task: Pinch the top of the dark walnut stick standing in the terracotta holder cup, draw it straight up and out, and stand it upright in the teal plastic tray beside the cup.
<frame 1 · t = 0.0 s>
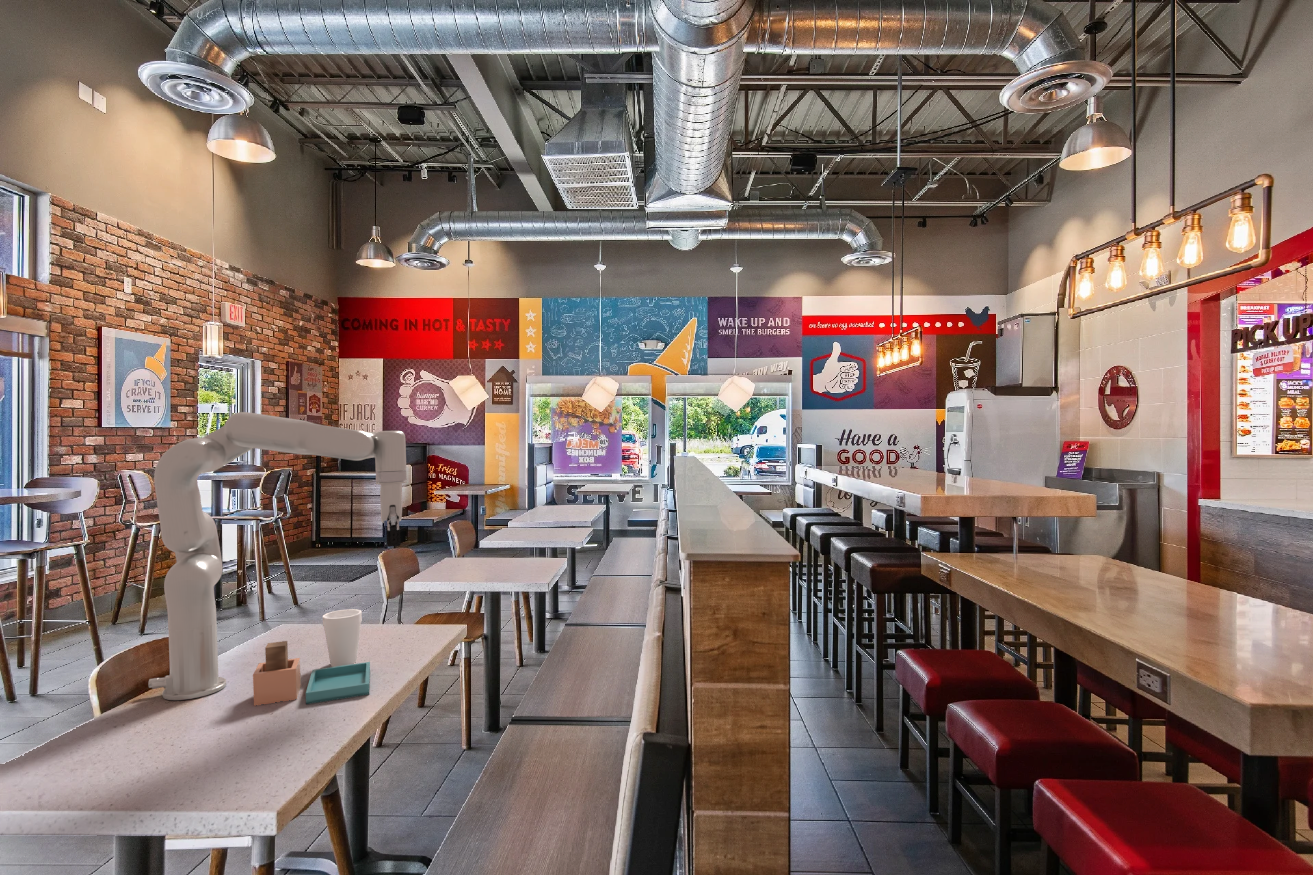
hand: (393, 543, 181), 31 cm above the table, tool pointing down, fingers open, 9 cm apart
walnut stick: (277, 670, 159), in the holder cup
foam cup: (343, 663, 182), on the table
tray: (340, 686, 164), on the table
holder cup: (278, 696, 159), on the table
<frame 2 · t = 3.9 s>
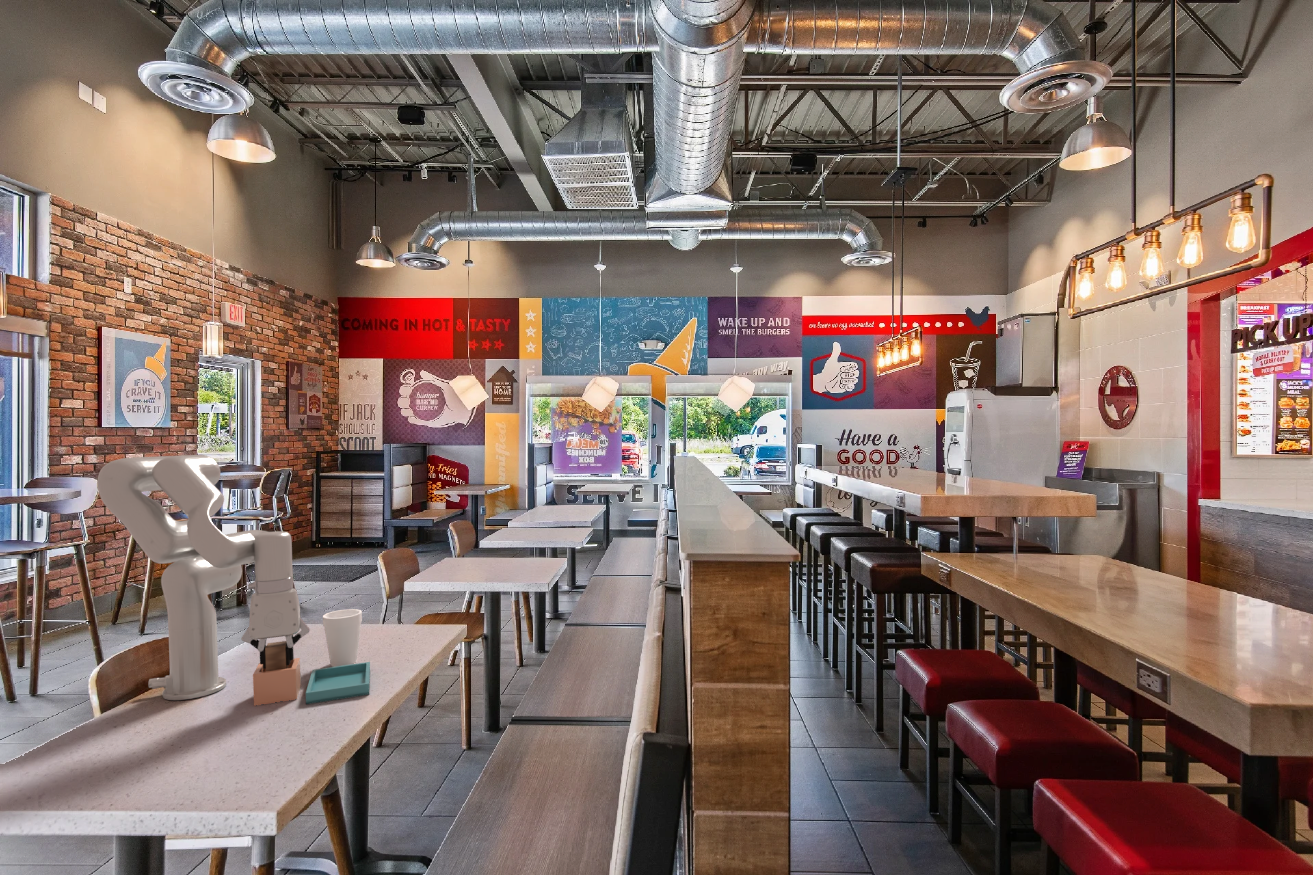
hand: (277, 664, 159), 7 cm above the table, tool pointing down, fingers closed on walnut stick, 4 cm apart
walnut stick: (277, 670, 159), in the holder cup, touching gripper
everything else where it was.
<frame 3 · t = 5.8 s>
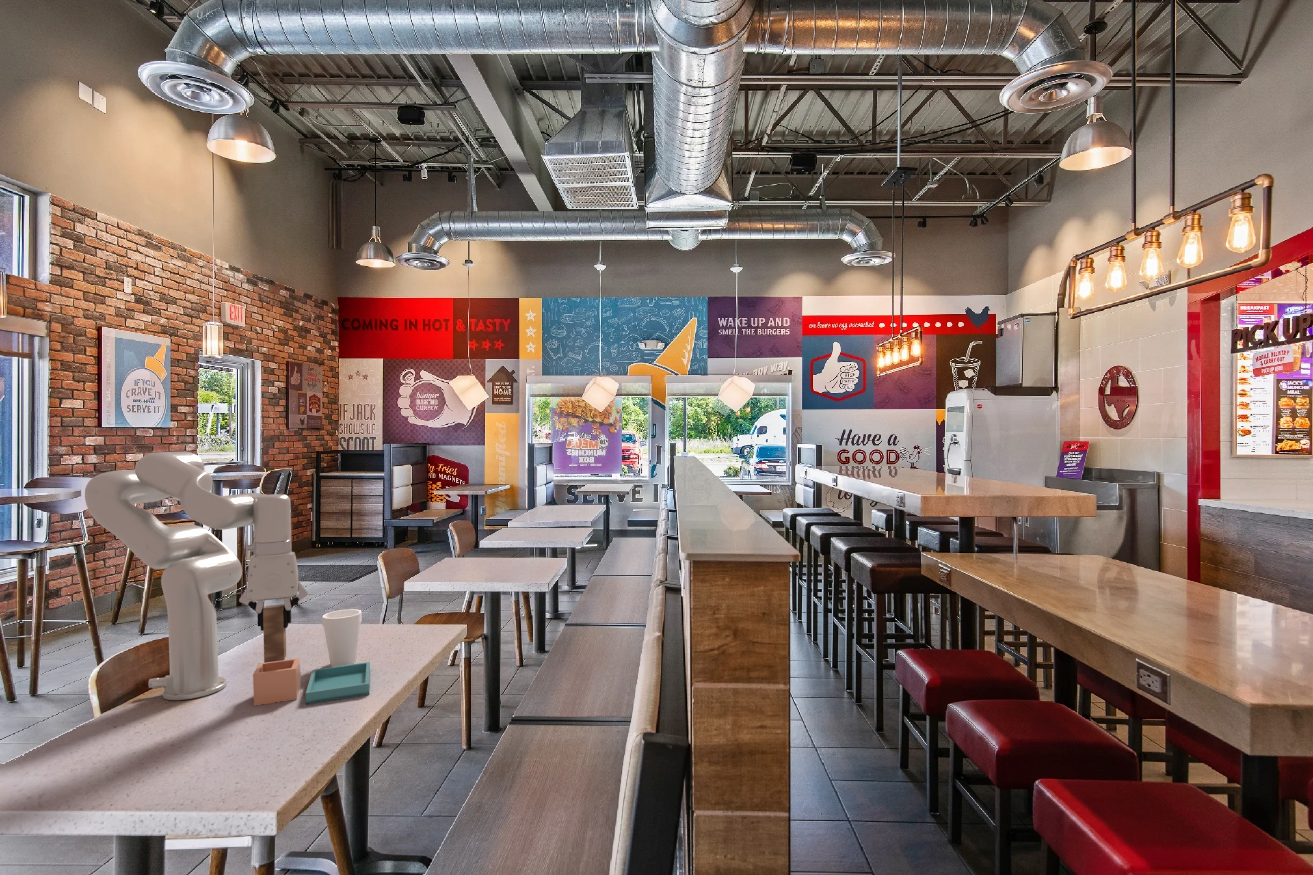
hand: (274, 626, 159), 16 cm above the table, tool pointing down, fingers closed on walnut stick, 4 cm apart
walnut stick: (274, 632, 159), point 15 cm above the table, touching gripper
everything else where it was.
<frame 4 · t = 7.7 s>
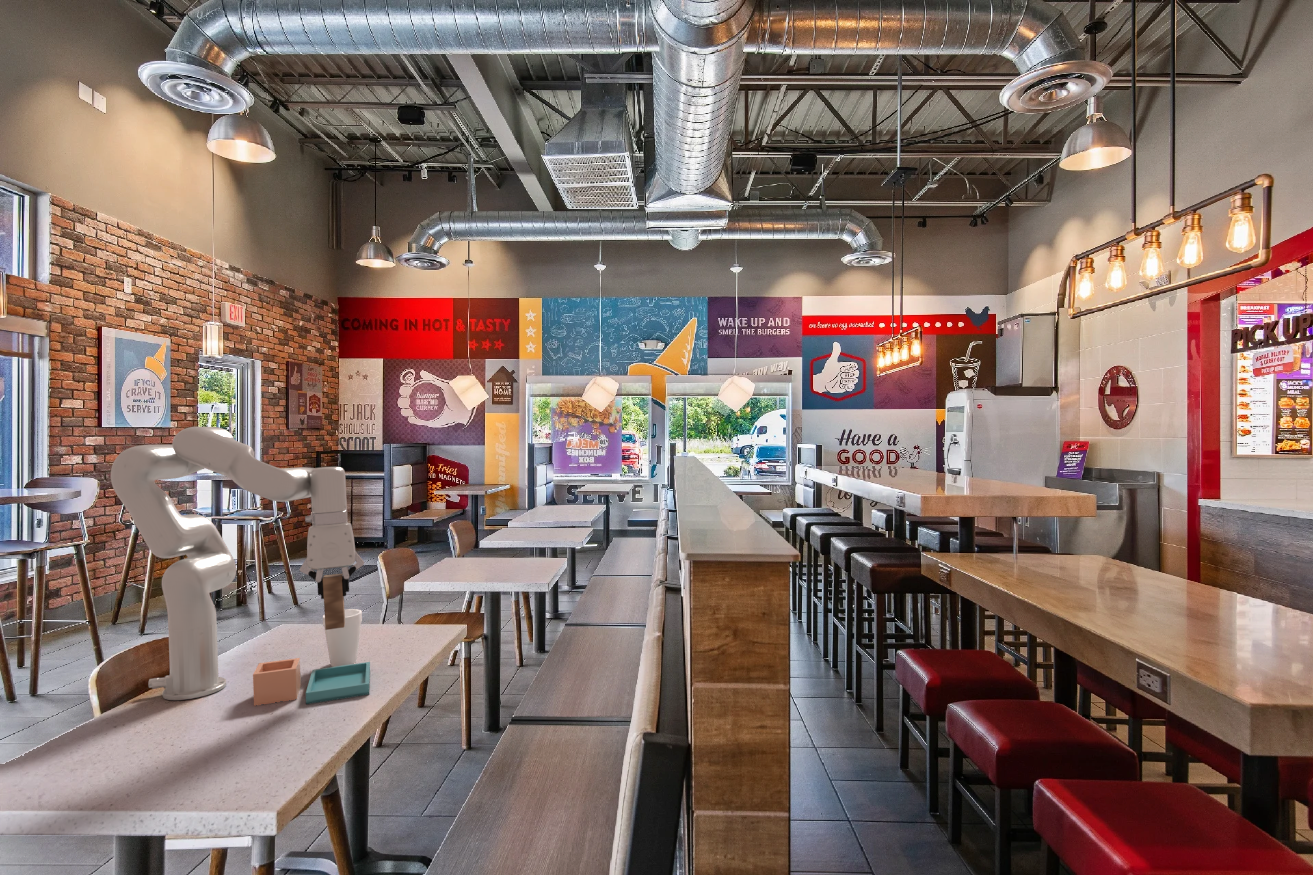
hand: (333, 595, 164), 22 cm above the table, tool pointing down, fingers closed on walnut stick, 4 cm apart
walnut stick: (334, 601, 164), point 20 cm above the table, touching gripper
everything else where it was.
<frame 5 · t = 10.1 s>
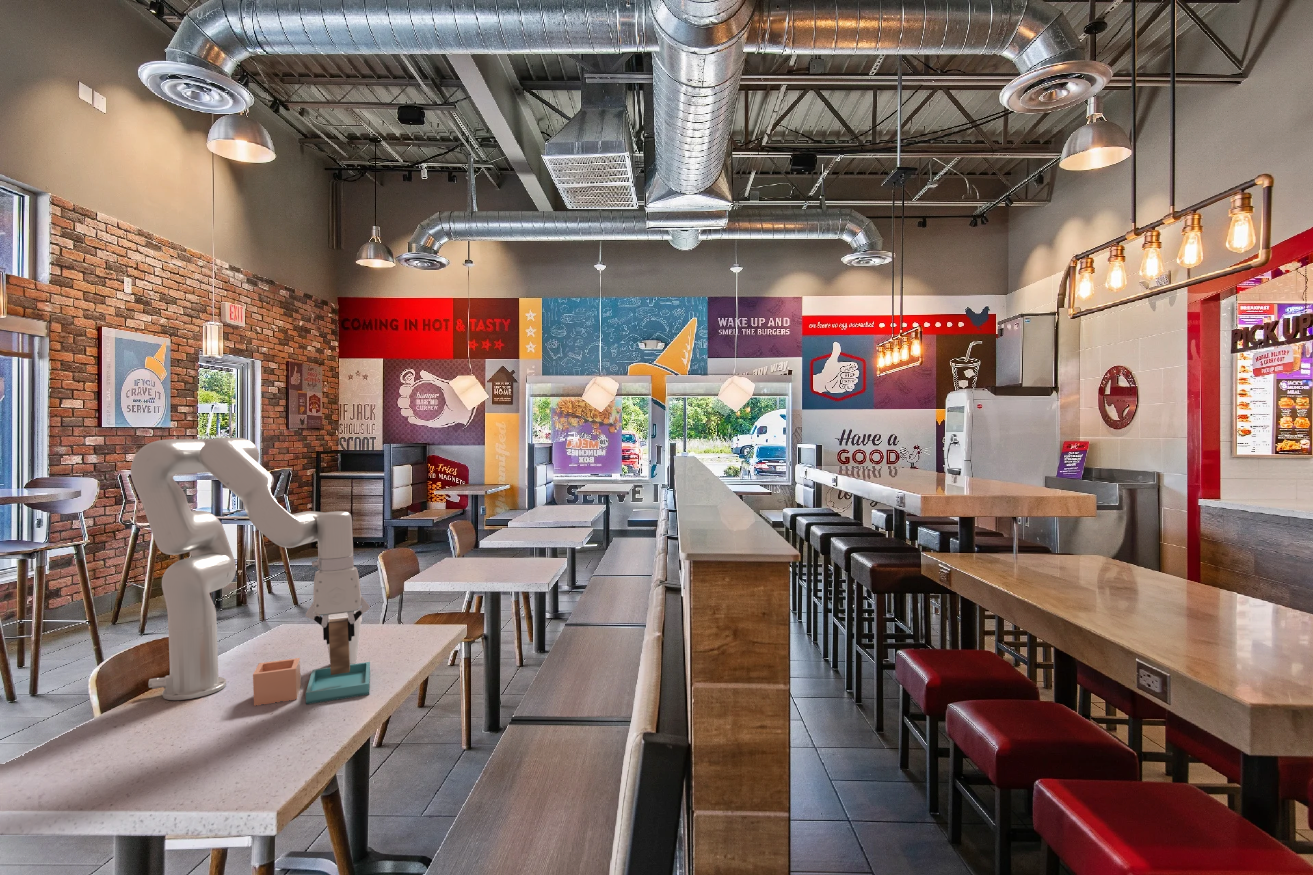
hand: (339, 640, 164), 11 cm above the table, tool pointing down, fingers closed on walnut stick, 4 cm apart
walnut stick: (339, 645, 164), point 10 cm above the table, touching gripper
everything else where it was.
when the fingers open (9 cm above the table, at t = 11.8 s): walnut stick stays where it is, resting on tray.
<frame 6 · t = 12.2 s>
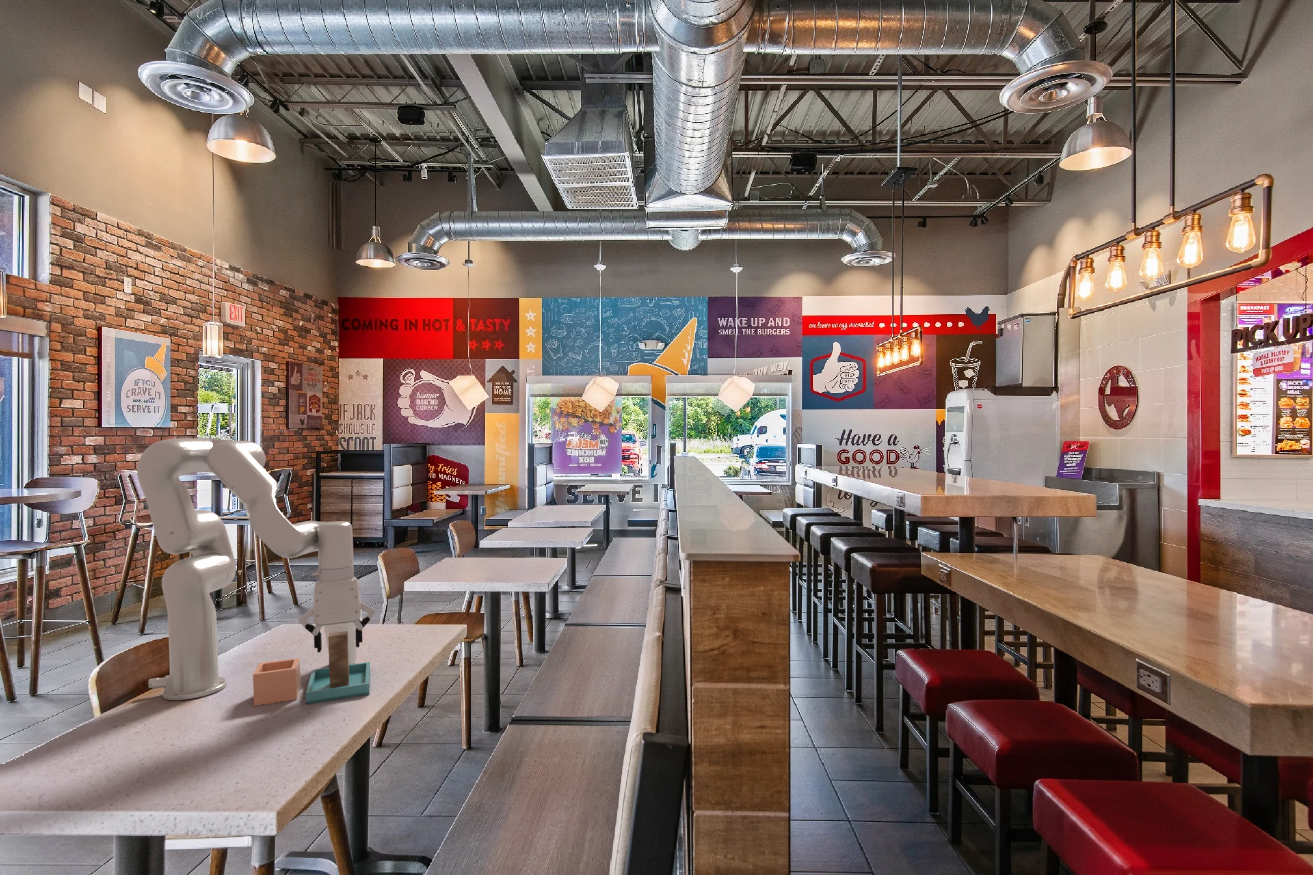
hand: (338, 647, 164), 9 cm above the table, tool pointing down, fingers open, 7 cm apart
walnut stick: (339, 659, 164), in the tray, point 7 cm above the table
everything else where it was.
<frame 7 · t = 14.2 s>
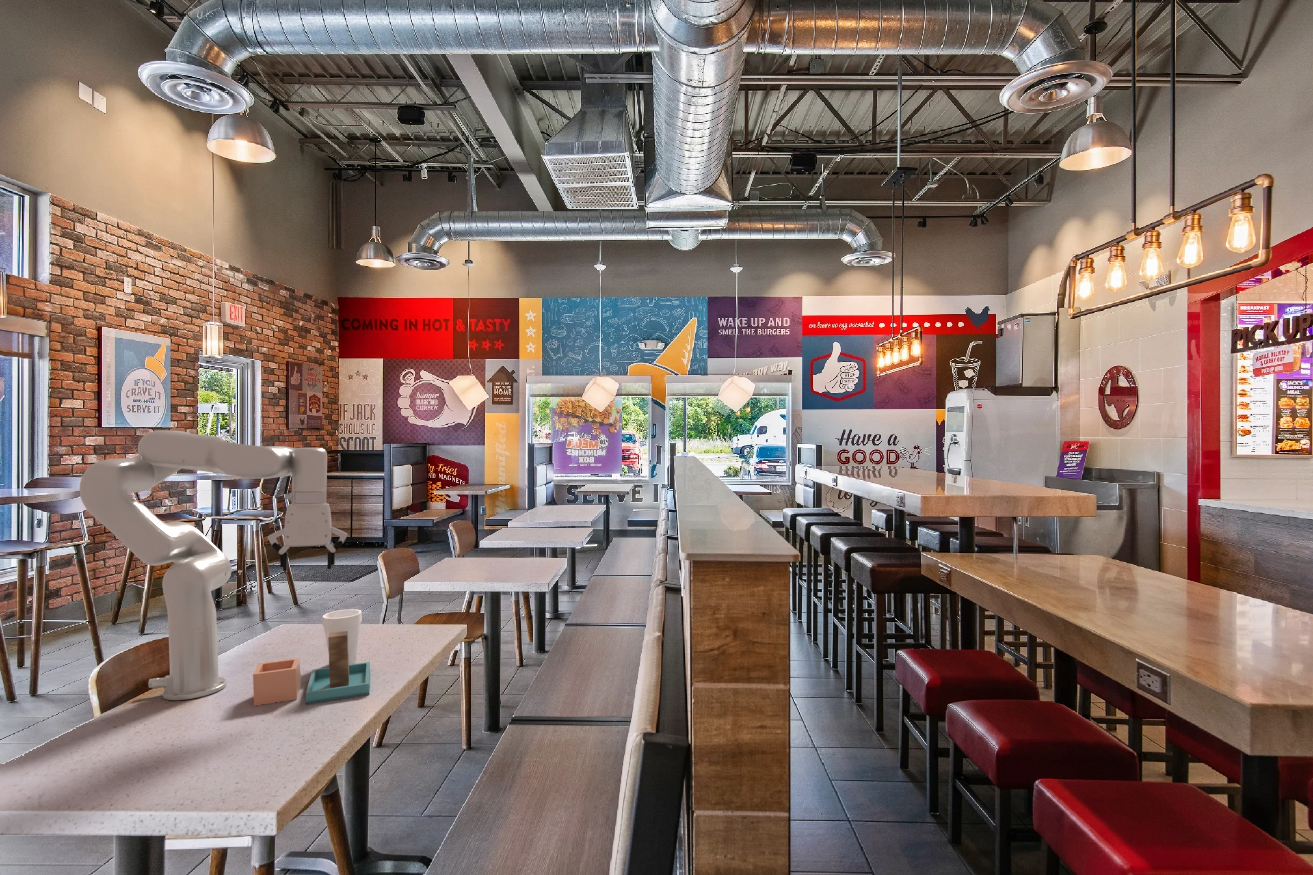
hand: (307, 569, 168), 28 cm above the table, tool pointing down, fingers open, 9 cm apart
nothing on the table moved.
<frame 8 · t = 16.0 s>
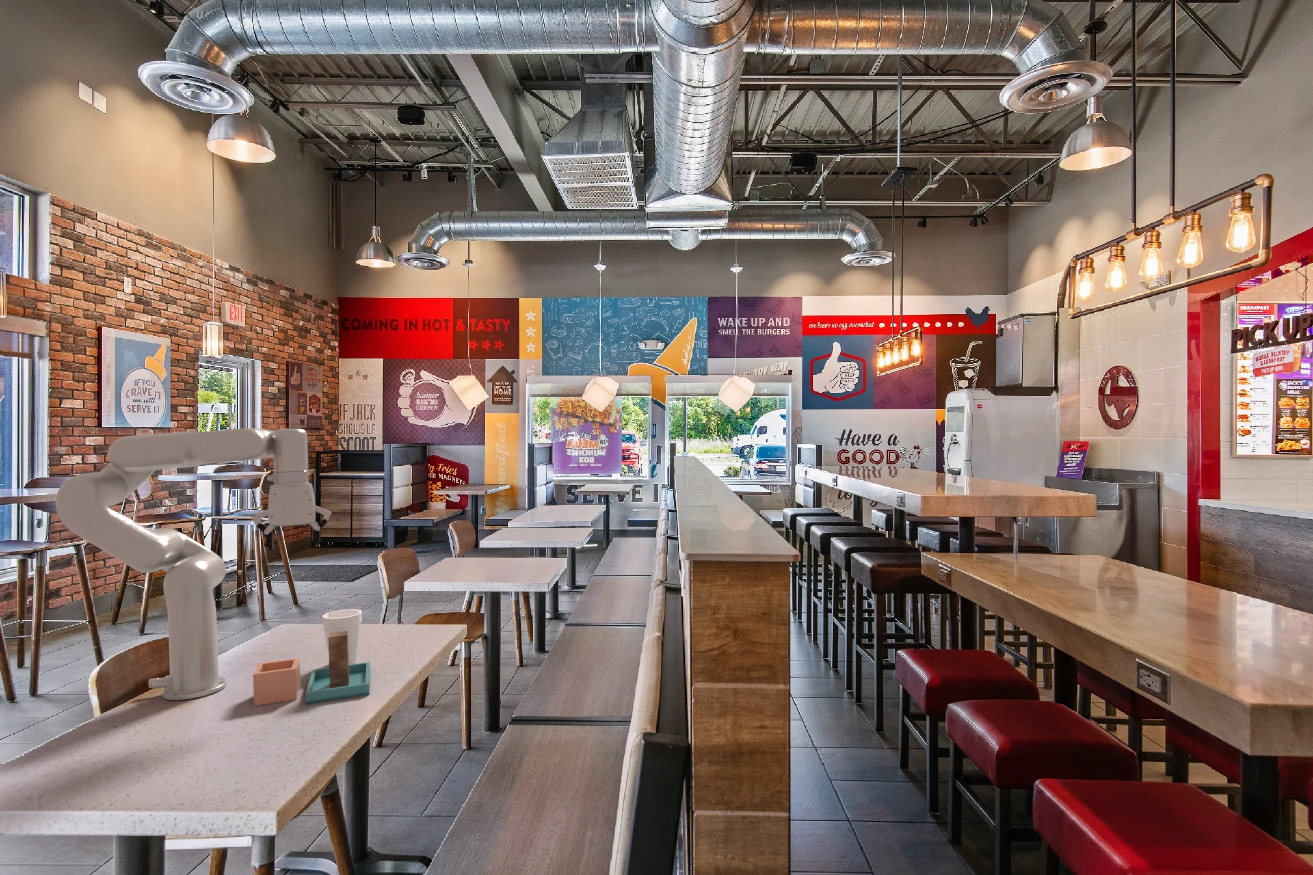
hand: (293, 548, 170), 32 cm above the table, tool pointing down, fingers open, 9 cm apart
nothing on the table moved.
at the end: walnut stick inside the target area on the tray (0.1 cm from its centre), point 6.6 cm above the tray's base; walnut stick tilted 0°; the gripper is holding nothing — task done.
